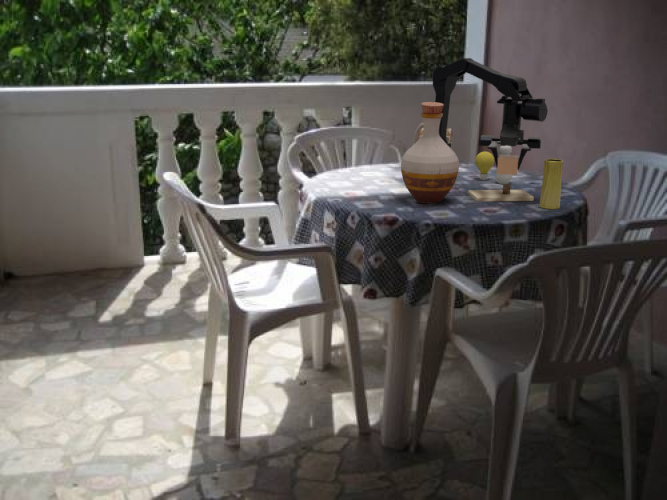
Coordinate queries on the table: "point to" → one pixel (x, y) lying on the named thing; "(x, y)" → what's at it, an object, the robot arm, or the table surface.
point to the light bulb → (484, 164)
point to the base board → (500, 195)
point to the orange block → (508, 164)
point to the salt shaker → (504, 177)
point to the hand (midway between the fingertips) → (507, 168)
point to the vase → (551, 184)
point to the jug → (429, 160)
